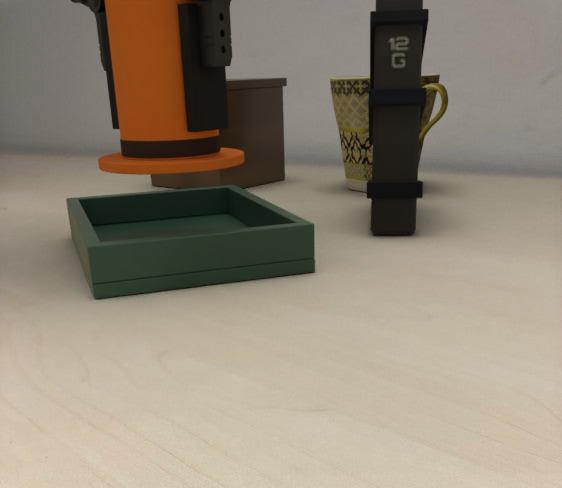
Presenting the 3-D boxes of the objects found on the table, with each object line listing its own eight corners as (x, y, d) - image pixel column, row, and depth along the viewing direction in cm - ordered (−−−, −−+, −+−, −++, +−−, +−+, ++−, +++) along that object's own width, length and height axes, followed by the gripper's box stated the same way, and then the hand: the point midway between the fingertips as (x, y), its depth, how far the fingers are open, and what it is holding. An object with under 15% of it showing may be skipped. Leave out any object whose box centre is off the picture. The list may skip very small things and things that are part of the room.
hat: (69, 169, 43) (43, -7, 40) (175, 153, 50) (162, 1, 46) (169, 178, 38) (150, -24, 34) (273, 160, 45) (268, -12, 41)
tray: (71, 236, 52) (65, 198, 50) (236, 220, 55) (234, 184, 54) (94, 299, 37) (87, 246, 36) (315, 271, 41) (314, 223, 40)
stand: (147, 185, 74) (136, 82, 70) (217, 173, 81) (211, 79, 77) (221, 193, 67) (214, 81, 63) (289, 179, 75) (286, 77, 71)
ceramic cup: (309, 186, 70) (308, 77, 66) (386, 176, 75) (389, 74, 71) (398, 204, 60) (403, 76, 56) (479, 190, 65) (489, 72, 61)
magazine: (365, 220, 46) (370, -7, 46) (366, 260, 59) (370, 83, 59) (424, 220, 45) (429, -10, 46) (412, 260, 58) (415, 81, 59)
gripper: (330, -427, 31) (331, 127, 40) (69, -288, 42) (117, 121, 51) (212, -526, 26) (244, 138, 35) (-51, -337, 37) (27, 129, 46)
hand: (169, 127), depth 43 cm, fingers closed on hat, 6 cm apart
